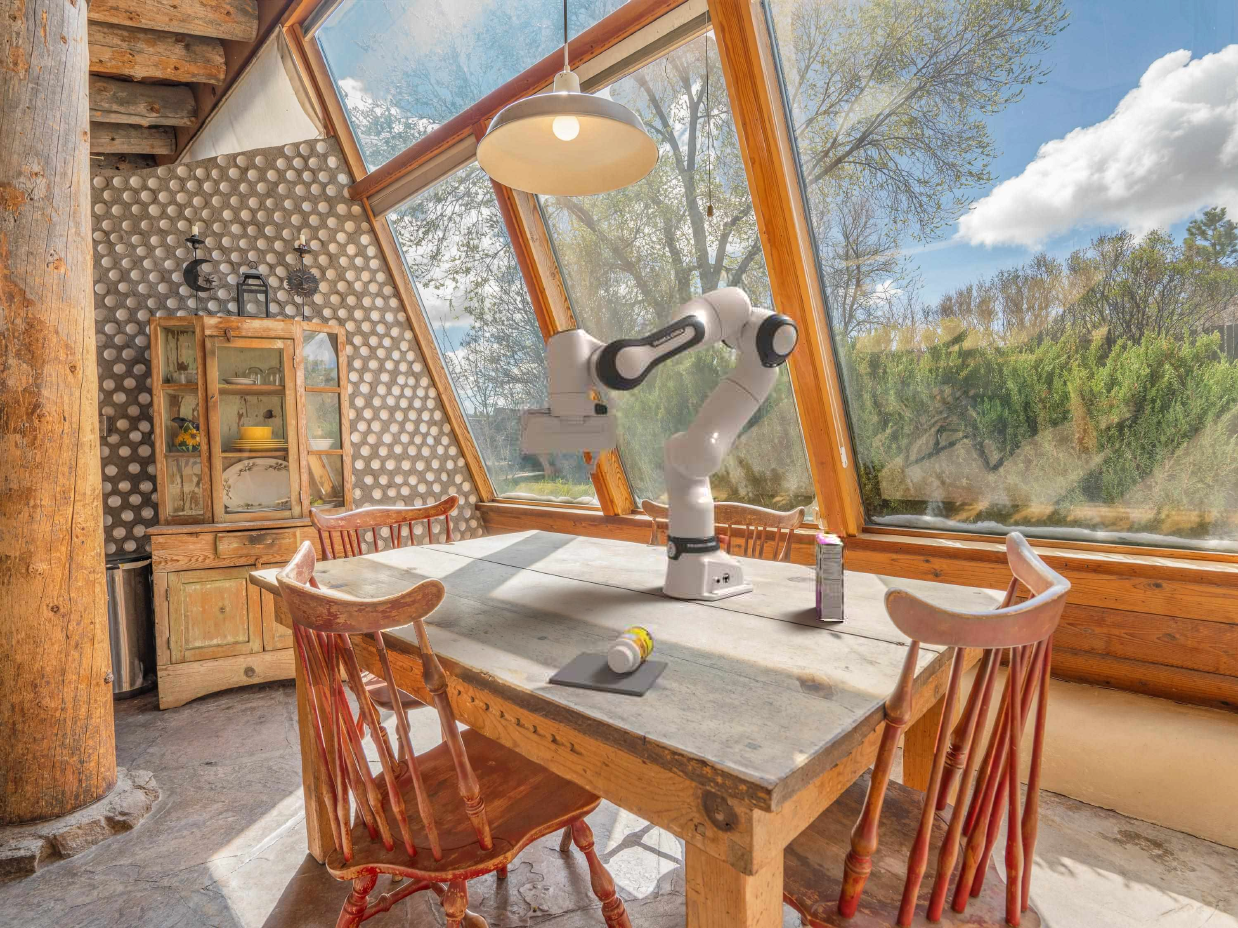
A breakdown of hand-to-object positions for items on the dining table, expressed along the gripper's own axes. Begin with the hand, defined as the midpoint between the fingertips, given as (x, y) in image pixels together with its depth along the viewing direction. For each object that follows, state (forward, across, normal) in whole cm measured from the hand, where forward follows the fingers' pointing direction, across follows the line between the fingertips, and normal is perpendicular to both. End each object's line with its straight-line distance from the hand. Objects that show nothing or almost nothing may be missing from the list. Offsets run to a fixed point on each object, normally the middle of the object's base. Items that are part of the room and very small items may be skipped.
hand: (570, 474), depth 136 cm
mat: (+31, -7, -30) cm, 44 cm away
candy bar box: (+32, +49, -24) cm, 63 cm away
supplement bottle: (+28, +1, -27) cm, 39 cm away
